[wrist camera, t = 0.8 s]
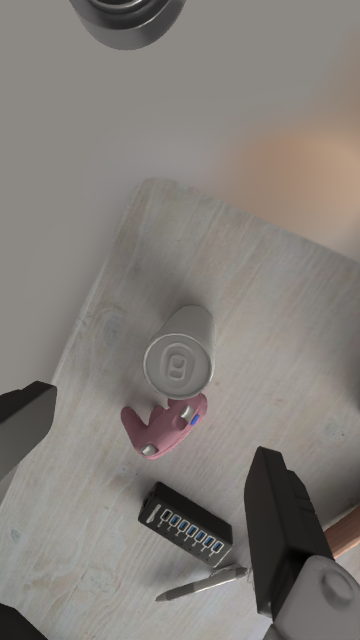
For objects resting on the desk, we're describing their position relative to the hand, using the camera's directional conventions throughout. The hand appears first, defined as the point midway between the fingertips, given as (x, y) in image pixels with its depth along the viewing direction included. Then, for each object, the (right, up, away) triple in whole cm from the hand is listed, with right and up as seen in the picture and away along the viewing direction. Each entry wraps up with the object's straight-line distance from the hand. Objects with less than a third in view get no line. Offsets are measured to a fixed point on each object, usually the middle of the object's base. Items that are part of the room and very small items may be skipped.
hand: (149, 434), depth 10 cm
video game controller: (0, -5, +21) cm, 21 cm away
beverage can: (+3, +4, +19) cm, 19 cm away
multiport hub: (+2, -20, +24) cm, 31 cm away
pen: (+4, -30, +25) cm, 39 cm away
